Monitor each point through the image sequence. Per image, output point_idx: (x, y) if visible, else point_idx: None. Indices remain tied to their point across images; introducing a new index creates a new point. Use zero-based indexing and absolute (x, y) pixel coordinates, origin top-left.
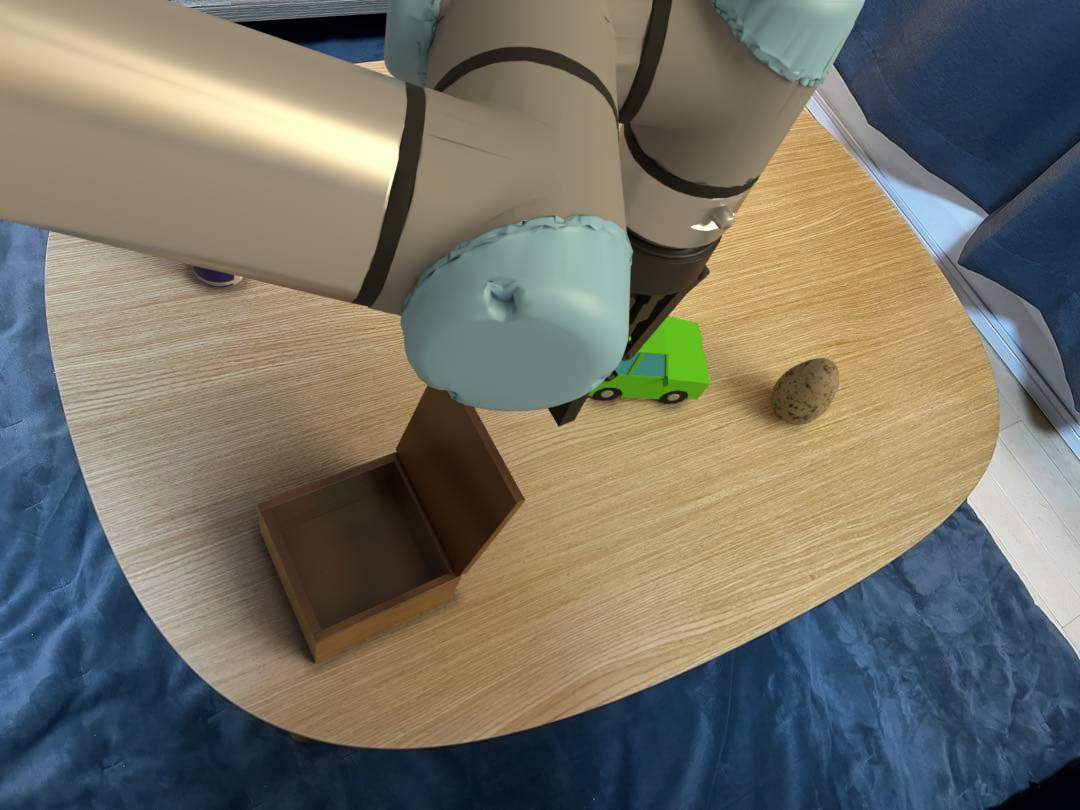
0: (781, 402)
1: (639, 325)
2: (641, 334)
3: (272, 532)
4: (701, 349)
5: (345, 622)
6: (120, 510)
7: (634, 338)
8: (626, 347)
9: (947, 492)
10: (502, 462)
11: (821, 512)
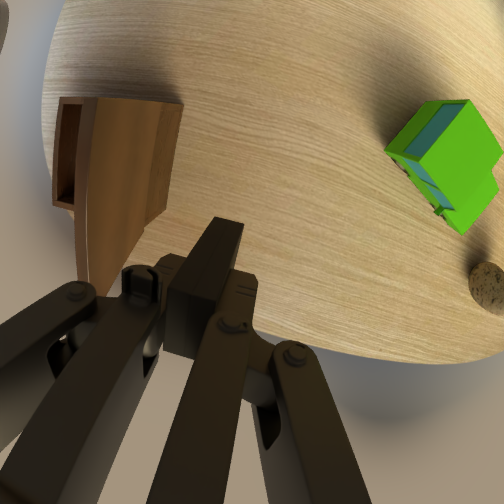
0: (477, 280)
1: (274, 485)
2: (265, 482)
3: (57, 122)
4: (482, 208)
5: (67, 205)
6: (53, 53)
7: (262, 456)
8: (257, 423)
9: (470, 358)
10: (86, 275)
11: (424, 330)
